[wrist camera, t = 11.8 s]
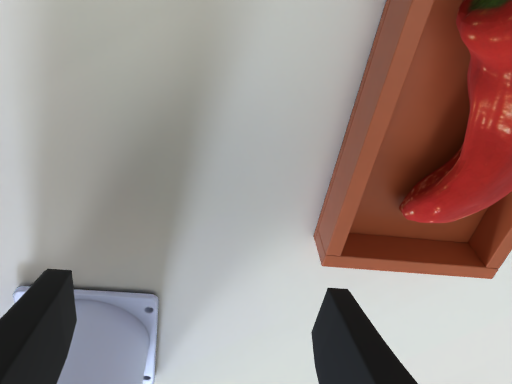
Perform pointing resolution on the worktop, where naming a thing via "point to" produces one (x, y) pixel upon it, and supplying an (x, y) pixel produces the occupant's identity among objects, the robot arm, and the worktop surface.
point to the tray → (408, 155)
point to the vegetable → (475, 124)
